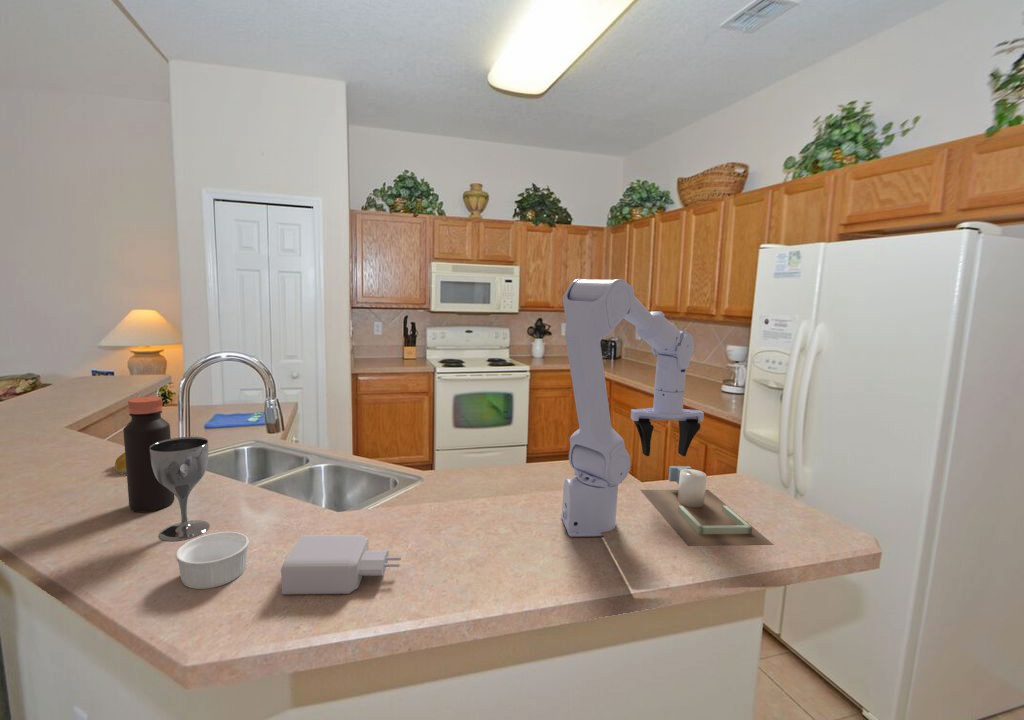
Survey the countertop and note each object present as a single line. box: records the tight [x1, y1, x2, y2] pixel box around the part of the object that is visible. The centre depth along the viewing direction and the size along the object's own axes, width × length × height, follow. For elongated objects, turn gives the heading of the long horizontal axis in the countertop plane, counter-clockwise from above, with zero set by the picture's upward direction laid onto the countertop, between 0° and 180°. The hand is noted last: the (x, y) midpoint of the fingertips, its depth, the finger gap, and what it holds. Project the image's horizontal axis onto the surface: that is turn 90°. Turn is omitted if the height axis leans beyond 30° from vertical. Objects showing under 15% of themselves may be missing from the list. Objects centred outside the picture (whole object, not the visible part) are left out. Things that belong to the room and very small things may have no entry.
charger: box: [280, 534, 402, 595], centre depth 71 cm, size 5×9×15 cm
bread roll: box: [114, 451, 127, 475], centre depth 110 cm, size 8×9×4 cm
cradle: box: [678, 505, 753, 534], centre depth 91 cm, size 10×9×1 cm
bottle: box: [123, 396, 175, 513], centre depth 90 cm, size 7×7×20 cm
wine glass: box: [150, 436, 211, 542], centre depth 82 cm, size 8×8×15 cm
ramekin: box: [175, 531, 250, 590], centre depth 71 cm, size 9×9×4 cm
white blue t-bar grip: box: [667, 465, 708, 508], centre depth 101 cm, size 9×5×6 cm, turn 3°
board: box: [640, 489, 774, 547], centre depth 94 cm, size 15×23×1 cm, turn 5°
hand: (664, 454), depth 101 cm, fingers open, 7 cm apart
